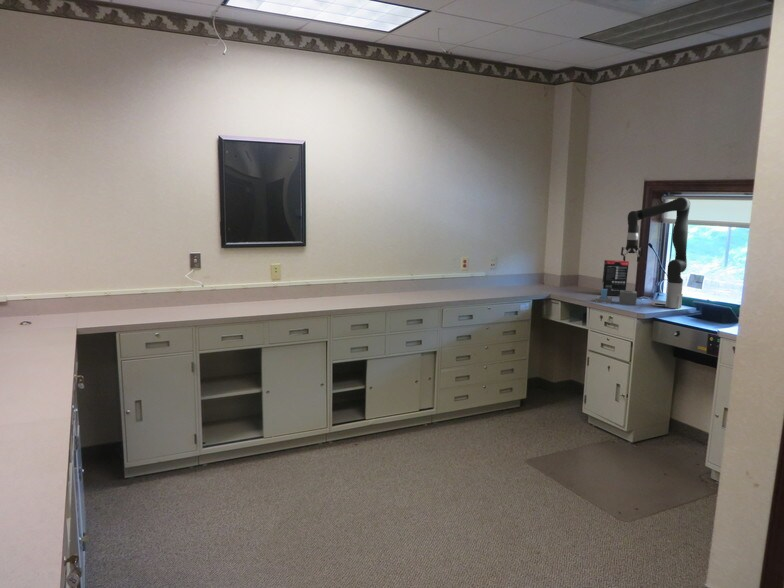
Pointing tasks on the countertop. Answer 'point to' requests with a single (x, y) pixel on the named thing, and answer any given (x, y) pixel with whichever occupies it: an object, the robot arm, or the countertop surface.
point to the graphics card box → (615, 276)
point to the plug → (603, 293)
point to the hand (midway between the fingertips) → (630, 261)
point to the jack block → (622, 298)
